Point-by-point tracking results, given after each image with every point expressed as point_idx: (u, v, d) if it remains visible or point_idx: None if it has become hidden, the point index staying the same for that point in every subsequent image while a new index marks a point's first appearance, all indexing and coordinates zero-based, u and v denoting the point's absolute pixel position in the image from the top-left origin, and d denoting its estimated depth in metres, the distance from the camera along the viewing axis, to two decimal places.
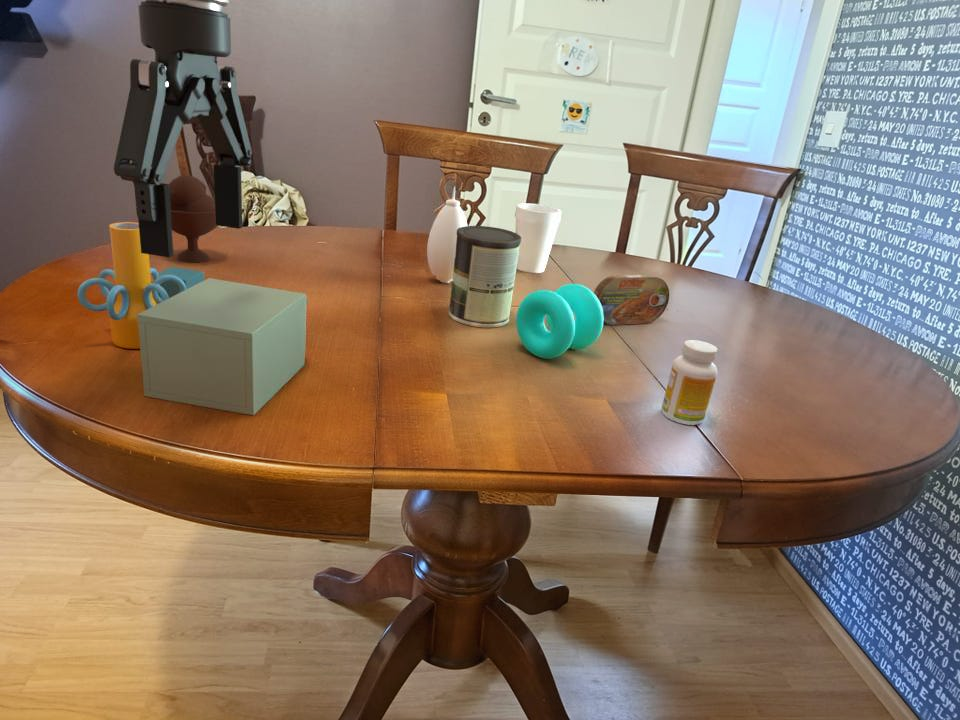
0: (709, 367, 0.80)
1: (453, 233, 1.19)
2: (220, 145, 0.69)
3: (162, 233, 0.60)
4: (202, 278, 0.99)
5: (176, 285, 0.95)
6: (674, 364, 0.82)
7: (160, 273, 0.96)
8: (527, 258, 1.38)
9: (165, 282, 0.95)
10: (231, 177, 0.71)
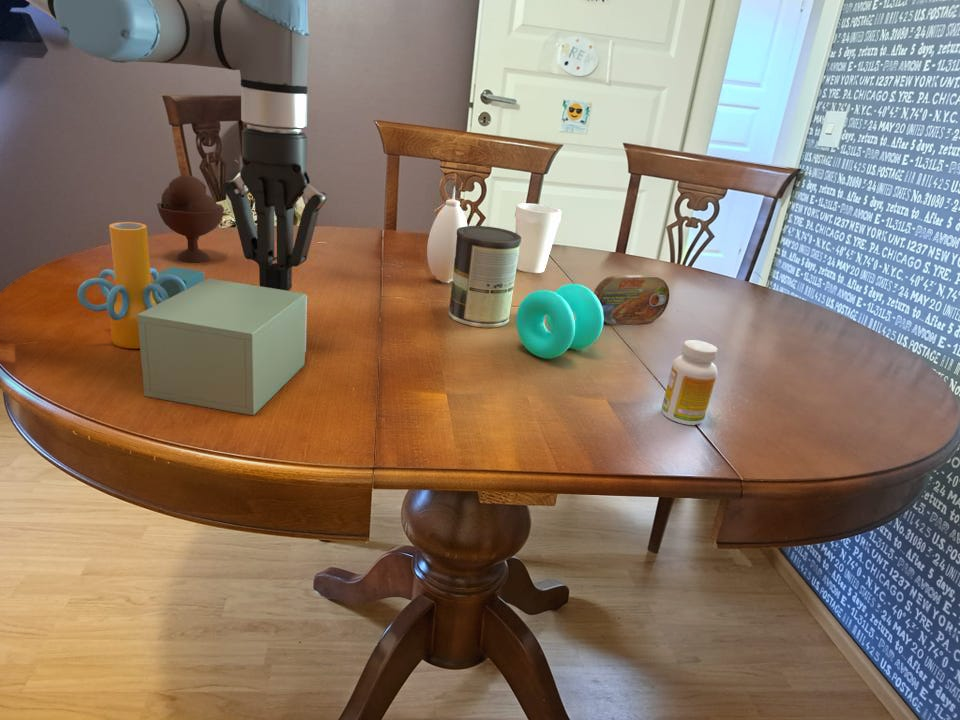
0: (709, 367, 0.80)
1: (453, 233, 1.19)
2: (270, 241, 0.85)
3: None
4: (202, 278, 0.99)
5: (176, 285, 0.95)
6: (674, 364, 0.82)
7: (160, 273, 0.96)
8: (527, 258, 1.38)
9: (165, 282, 0.95)
10: None
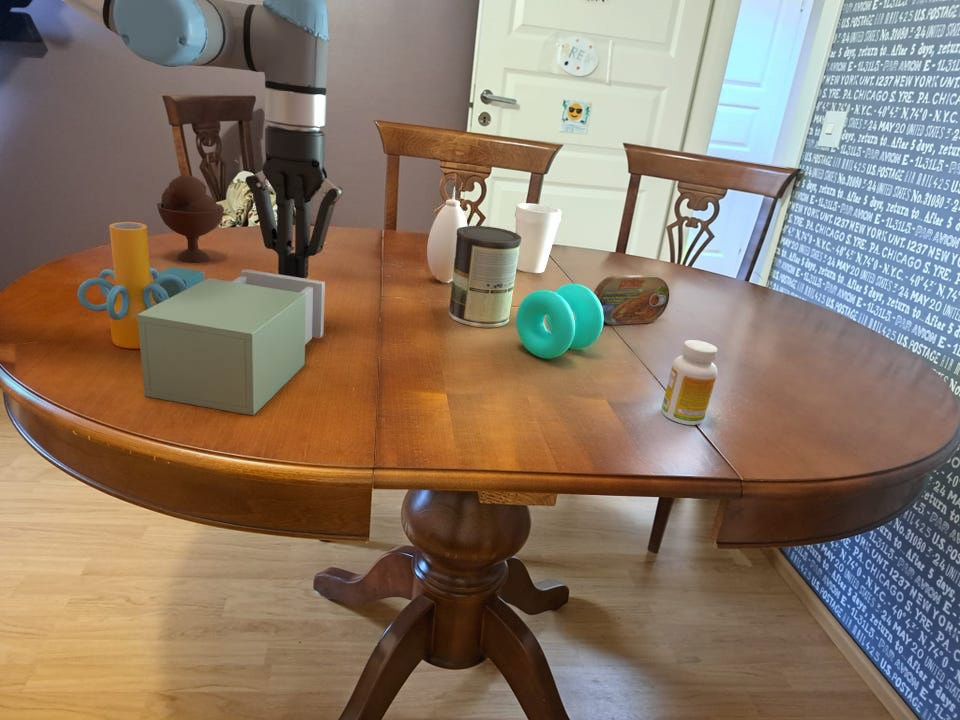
0: (709, 367, 0.80)
1: (453, 233, 1.19)
2: (288, 232, 0.91)
3: None
4: (202, 278, 0.99)
5: (176, 285, 0.95)
6: (674, 364, 0.82)
7: (160, 273, 0.96)
8: (527, 258, 1.38)
9: (165, 282, 0.95)
10: None
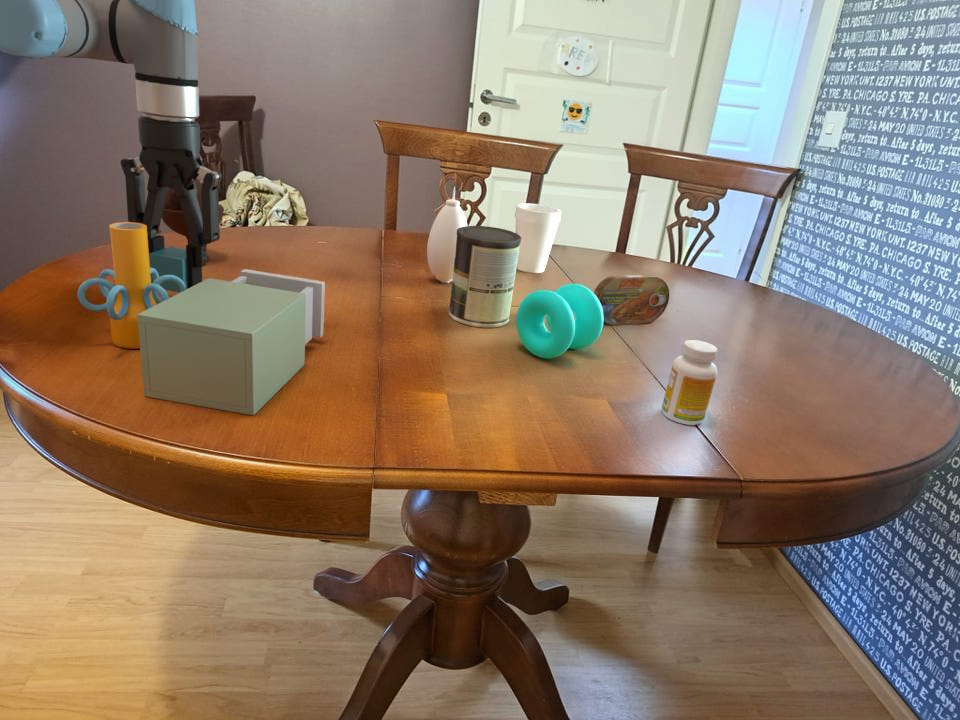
0: (709, 367, 0.80)
1: (453, 233, 1.19)
2: (156, 217, 0.94)
3: (200, 272, 0.97)
4: None
5: (173, 264, 0.94)
6: (674, 364, 0.82)
7: (156, 252, 0.94)
8: (527, 258, 1.38)
9: (161, 261, 0.94)
10: (161, 244, 0.96)
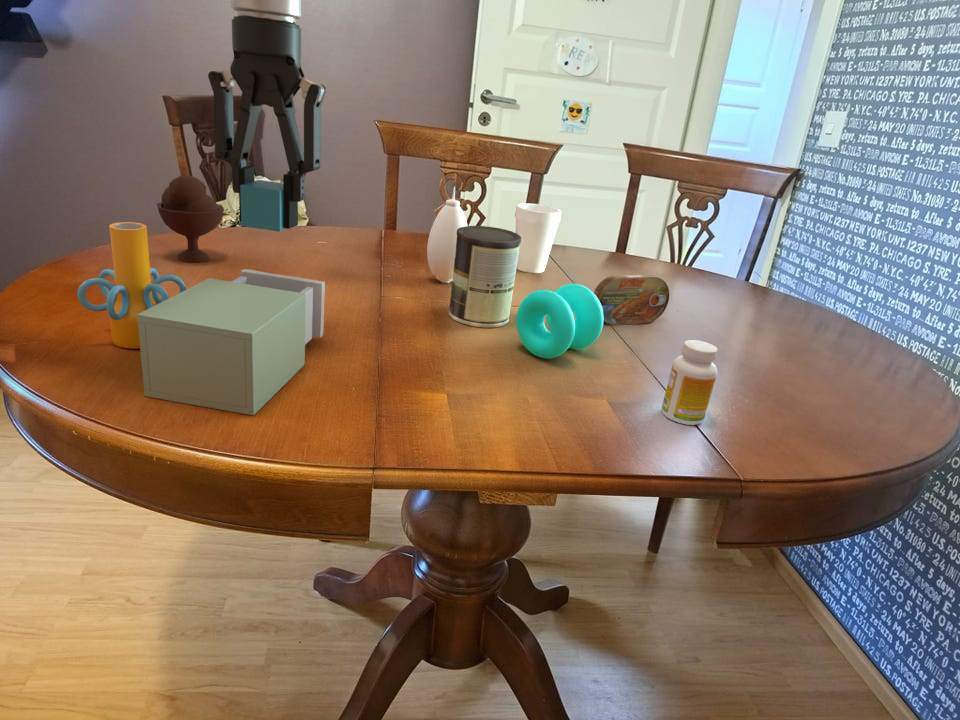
0: (709, 367, 0.80)
1: (453, 233, 1.19)
2: (247, 142, 0.80)
3: (296, 208, 0.83)
4: None
5: (268, 197, 0.80)
6: (674, 364, 0.82)
7: (248, 184, 0.81)
8: (527, 258, 1.38)
9: (254, 194, 0.80)
10: (251, 176, 0.82)
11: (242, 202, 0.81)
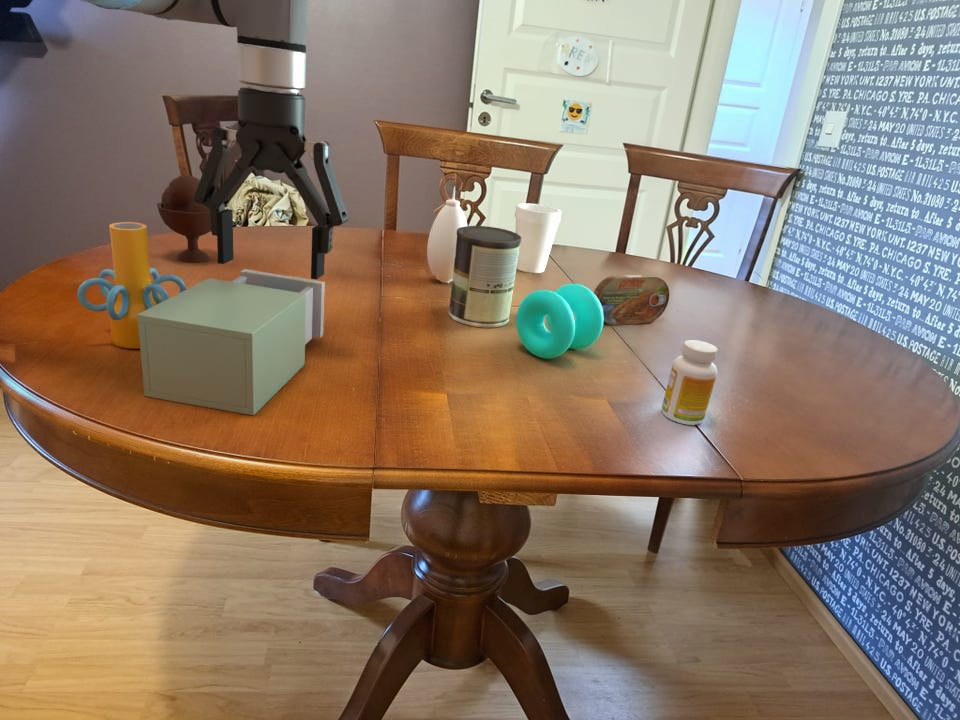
0: (709, 367, 0.80)
1: (453, 233, 1.19)
2: (231, 193, 0.82)
3: (323, 259, 0.85)
4: None
5: None
6: (674, 364, 0.82)
7: None
8: (527, 258, 1.38)
9: None
10: (230, 219, 0.85)
11: None
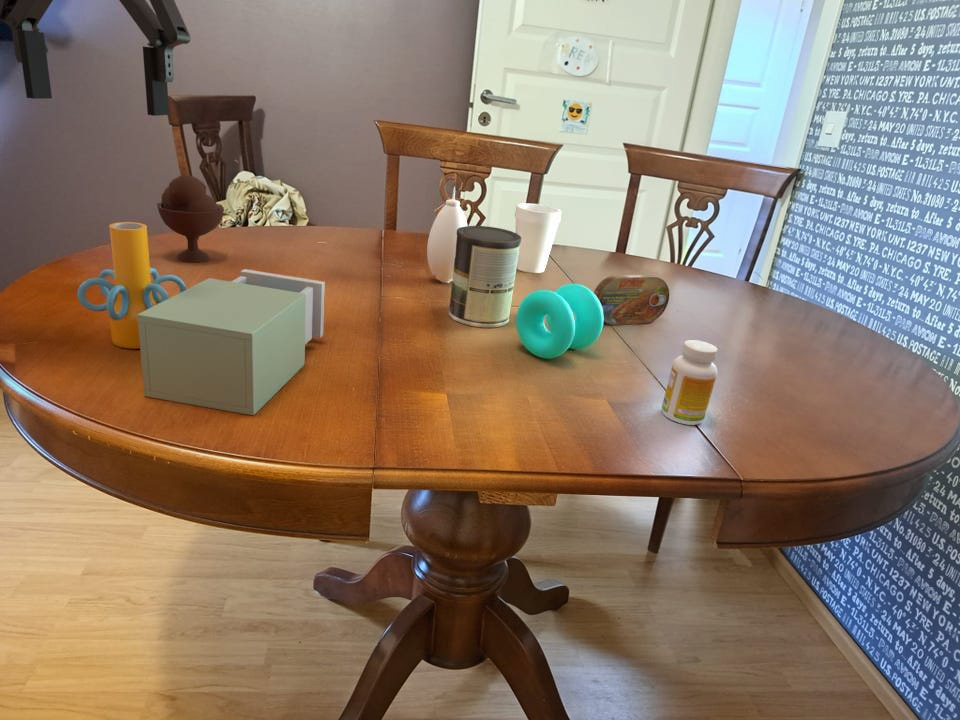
0: (709, 367, 0.80)
1: (453, 233, 1.19)
2: (37, 8, 0.68)
3: (165, 93, 0.70)
4: None
5: None
6: (674, 364, 0.82)
7: None
8: (527, 258, 1.38)
9: None
10: (39, 43, 0.70)
11: None
